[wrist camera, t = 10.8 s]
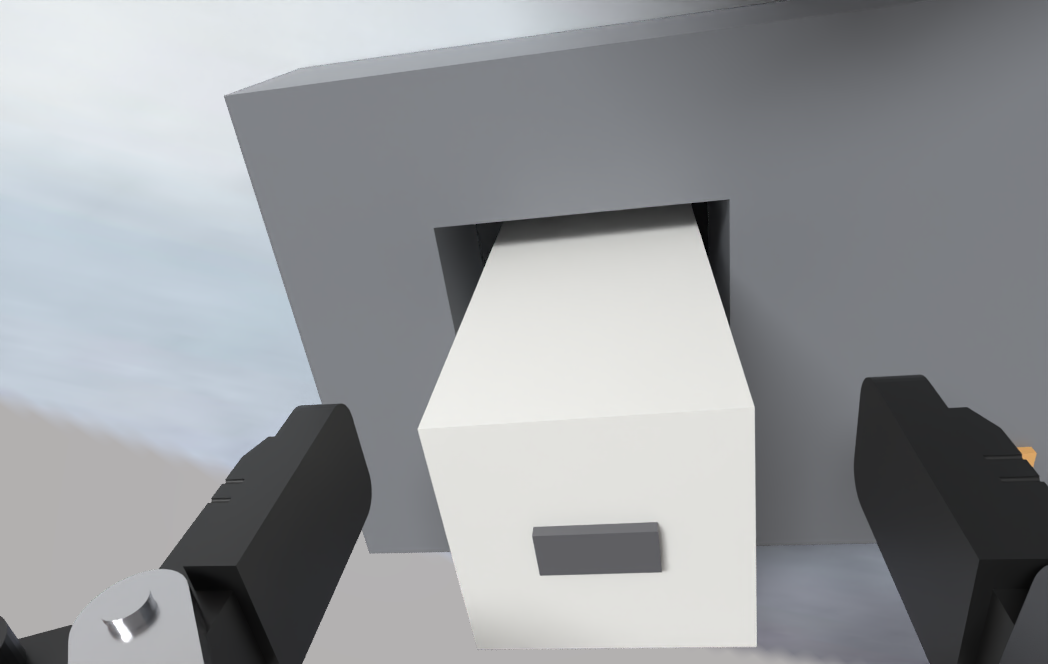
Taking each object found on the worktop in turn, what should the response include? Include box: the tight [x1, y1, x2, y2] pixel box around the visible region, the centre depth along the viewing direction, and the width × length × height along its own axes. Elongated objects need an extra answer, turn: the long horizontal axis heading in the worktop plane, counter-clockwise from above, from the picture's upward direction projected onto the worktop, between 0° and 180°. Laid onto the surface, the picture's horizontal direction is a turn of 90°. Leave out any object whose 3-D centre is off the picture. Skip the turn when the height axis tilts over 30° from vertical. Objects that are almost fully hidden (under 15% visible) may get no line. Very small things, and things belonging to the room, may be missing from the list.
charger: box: [418, 203, 757, 650], centre depth 13 cm, size 4×4×9 cm
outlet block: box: [224, 0, 1048, 553], centre depth 15 cm, size 16×11×4 cm
